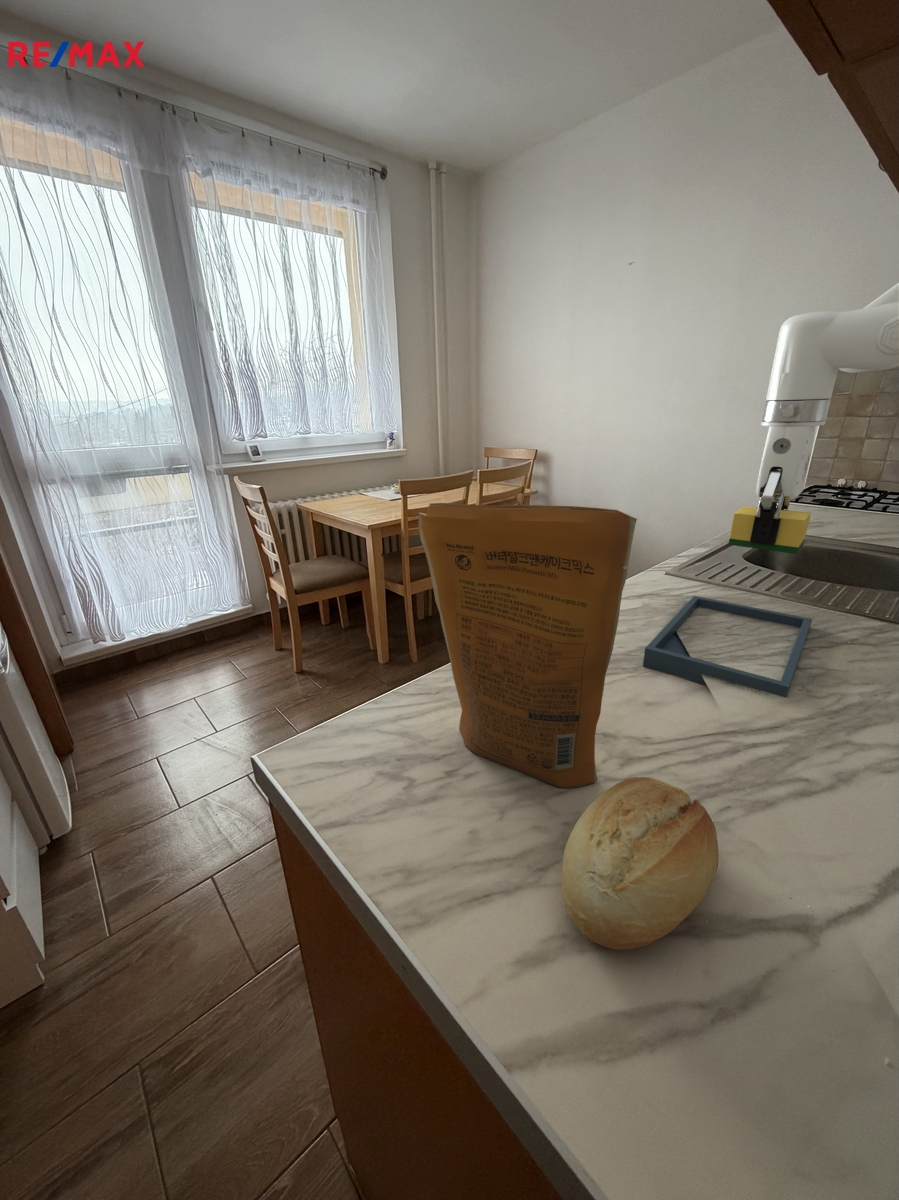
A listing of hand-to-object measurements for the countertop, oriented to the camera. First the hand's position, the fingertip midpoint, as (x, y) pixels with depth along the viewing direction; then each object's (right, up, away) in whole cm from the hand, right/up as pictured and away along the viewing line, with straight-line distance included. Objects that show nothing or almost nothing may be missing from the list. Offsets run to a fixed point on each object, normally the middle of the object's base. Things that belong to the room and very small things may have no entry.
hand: (767, 537), depth 74 cm
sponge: (0, -1, 0) cm, 1 cm away
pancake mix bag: (-42, -27, -22) cm, 54 cm away
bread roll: (-34, -32, -36) cm, 59 cm away
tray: (-7, -17, -2) cm, 19 cm away
